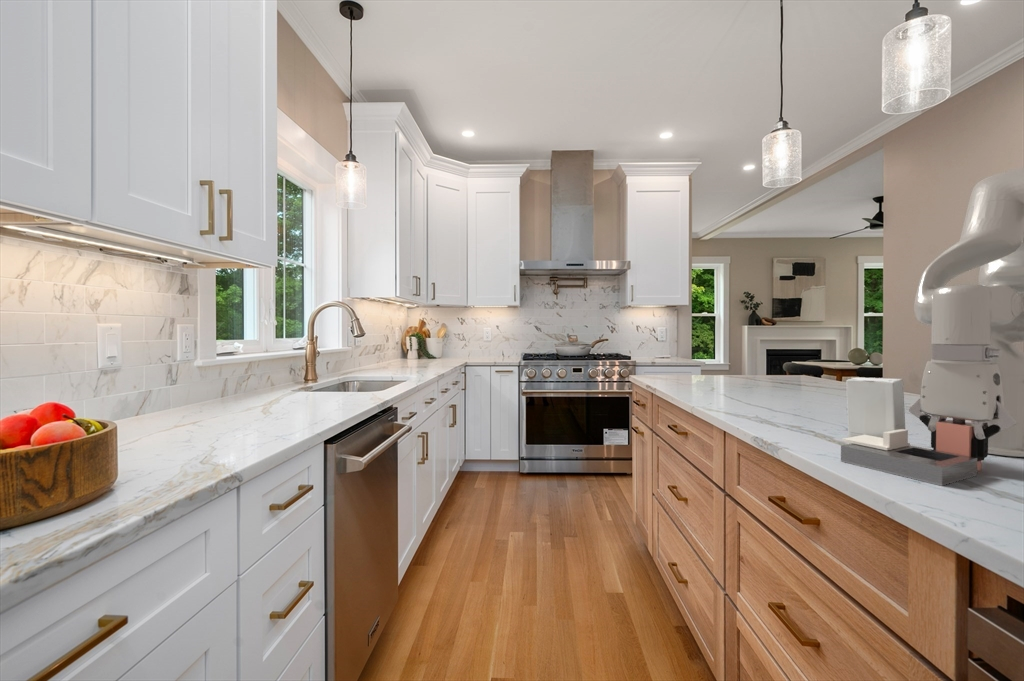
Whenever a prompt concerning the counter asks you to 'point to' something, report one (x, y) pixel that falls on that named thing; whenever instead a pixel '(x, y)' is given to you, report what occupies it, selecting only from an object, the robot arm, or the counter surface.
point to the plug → (955, 437)
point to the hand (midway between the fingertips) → (958, 455)
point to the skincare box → (875, 406)
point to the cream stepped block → (882, 440)
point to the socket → (913, 462)
